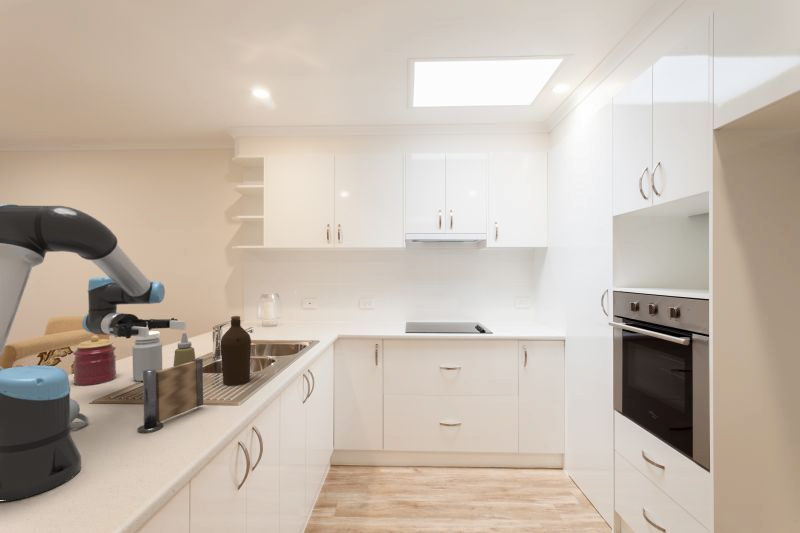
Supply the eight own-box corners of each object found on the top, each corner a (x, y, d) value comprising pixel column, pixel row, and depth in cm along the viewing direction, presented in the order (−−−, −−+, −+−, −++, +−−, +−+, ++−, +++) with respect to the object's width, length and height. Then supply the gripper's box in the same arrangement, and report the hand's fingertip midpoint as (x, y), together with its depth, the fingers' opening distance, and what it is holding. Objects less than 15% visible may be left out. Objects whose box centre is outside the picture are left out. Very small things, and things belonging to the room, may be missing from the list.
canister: (101, 374, 155) (101, 331, 154) (124, 377, 151) (123, 333, 150) (65, 384, 142) (64, 337, 142) (88, 387, 138) (87, 339, 138)
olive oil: (257, 379, 146) (256, 315, 145) (234, 388, 136) (233, 319, 136) (238, 376, 150) (237, 313, 150) (214, 384, 141) (213, 317, 141)
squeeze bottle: (184, 383, 142) (183, 336, 142) (168, 381, 144) (167, 334, 144) (201, 377, 149) (200, 332, 149) (186, 375, 152) (185, 331, 152)
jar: (131, 378, 149) (130, 333, 149) (160, 373, 155) (159, 329, 155) (134, 384, 142) (134, 336, 141) (165, 378, 148) (164, 333, 148)
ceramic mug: (31, 438, 98) (31, 409, 98) (46, 425, 106) (46, 398, 106) (81, 431, 102) (81, 403, 102) (93, 420, 110) (93, 393, 110)
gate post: (163, 429, 103) (162, 371, 102) (137, 435, 99) (135, 375, 99) (163, 421, 108) (162, 366, 107) (137, 427, 104) (136, 369, 104)
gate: (160, 422, 105) (159, 371, 105) (155, 421, 106) (154, 370, 106) (203, 404, 118) (202, 358, 118) (198, 403, 119) (197, 358, 119)
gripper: (156, 329, 136) (200, 333, 127) (79, 343, 114) (126, 349, 105) (156, 309, 135) (200, 311, 127) (79, 318, 113) (126, 322, 105)
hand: (167, 328), depth 116 cm, fingers open, 11 cm apart
